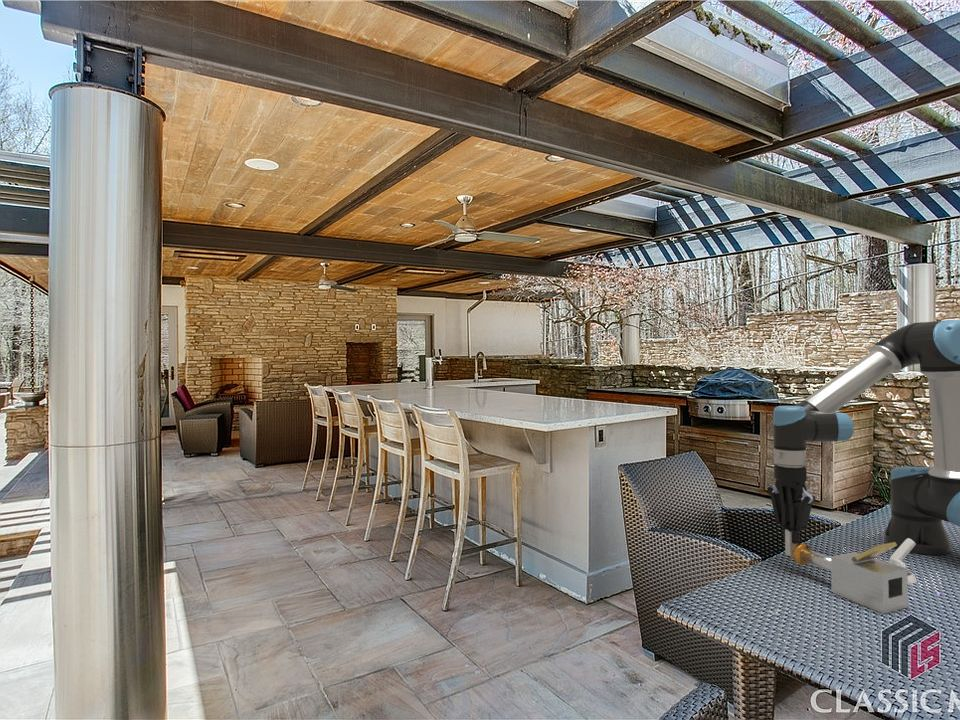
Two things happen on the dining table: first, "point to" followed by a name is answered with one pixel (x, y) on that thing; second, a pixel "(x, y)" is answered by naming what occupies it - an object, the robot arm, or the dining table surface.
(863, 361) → the robot arm
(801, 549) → the pin
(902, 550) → the grey ring with handle
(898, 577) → the block
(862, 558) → the plate
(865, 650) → the dining table surface
